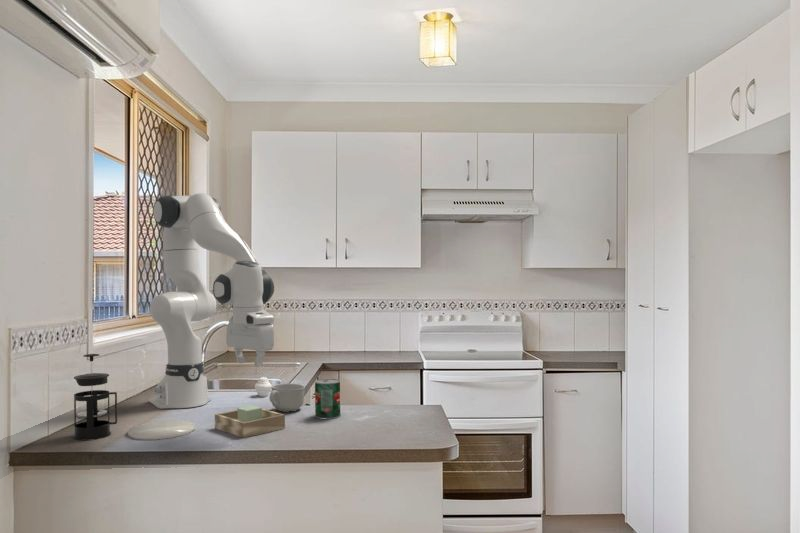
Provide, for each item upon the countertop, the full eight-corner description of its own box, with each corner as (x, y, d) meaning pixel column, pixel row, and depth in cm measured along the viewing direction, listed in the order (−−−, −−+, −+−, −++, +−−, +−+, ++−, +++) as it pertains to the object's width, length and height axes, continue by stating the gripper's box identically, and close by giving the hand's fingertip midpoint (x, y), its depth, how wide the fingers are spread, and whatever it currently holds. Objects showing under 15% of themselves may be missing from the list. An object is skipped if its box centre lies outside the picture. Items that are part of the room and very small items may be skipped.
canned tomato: (344, 416, 199) (344, 381, 199) (321, 420, 195) (320, 384, 195) (334, 412, 206) (333, 377, 206) (311, 415, 202) (311, 380, 202)
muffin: (267, 398, 229) (266, 378, 229) (251, 397, 231) (251, 377, 231) (274, 394, 235) (274, 375, 235) (259, 393, 237) (259, 374, 237)
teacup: (290, 405, 217) (289, 381, 217) (312, 409, 210) (311, 385, 210) (256, 412, 206) (256, 387, 206) (278, 417, 200) (278, 391, 200)
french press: (68, 442, 174) (67, 357, 174) (73, 433, 183) (72, 353, 183) (115, 437, 178) (114, 354, 178) (118, 429, 187) (117, 350, 187)
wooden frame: (215, 428, 187) (214, 414, 187) (255, 419, 197) (255, 406, 197) (243, 437, 176) (243, 423, 176) (285, 428, 186) (284, 414, 186)
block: (237, 428, 186) (237, 408, 186) (252, 425, 190) (252, 405, 190) (247, 431, 183) (246, 410, 183) (262, 428, 186) (261, 407, 186)
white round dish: (117, 432, 184) (117, 428, 184) (177, 420, 197) (176, 417, 197) (144, 443, 171) (144, 440, 171) (206, 430, 184) (206, 427, 184)
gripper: (220, 316, 191) (221, 362, 191) (258, 318, 177) (259, 368, 177) (238, 314, 196) (239, 360, 196) (277, 317, 182) (278, 366, 181)
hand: (249, 364), depth 186 cm, fingers open, 8 cm apart
